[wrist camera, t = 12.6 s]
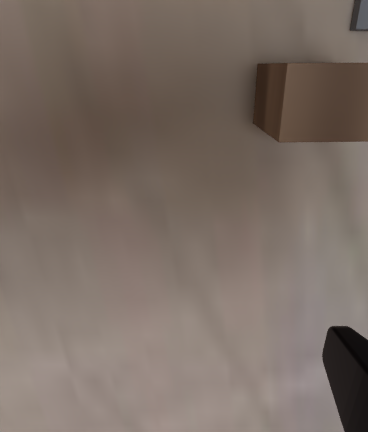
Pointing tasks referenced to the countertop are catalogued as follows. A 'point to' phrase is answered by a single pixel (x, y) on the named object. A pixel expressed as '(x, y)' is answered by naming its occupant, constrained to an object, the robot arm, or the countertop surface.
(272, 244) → the countertop surface
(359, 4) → the slate mat
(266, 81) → the walnut gate
